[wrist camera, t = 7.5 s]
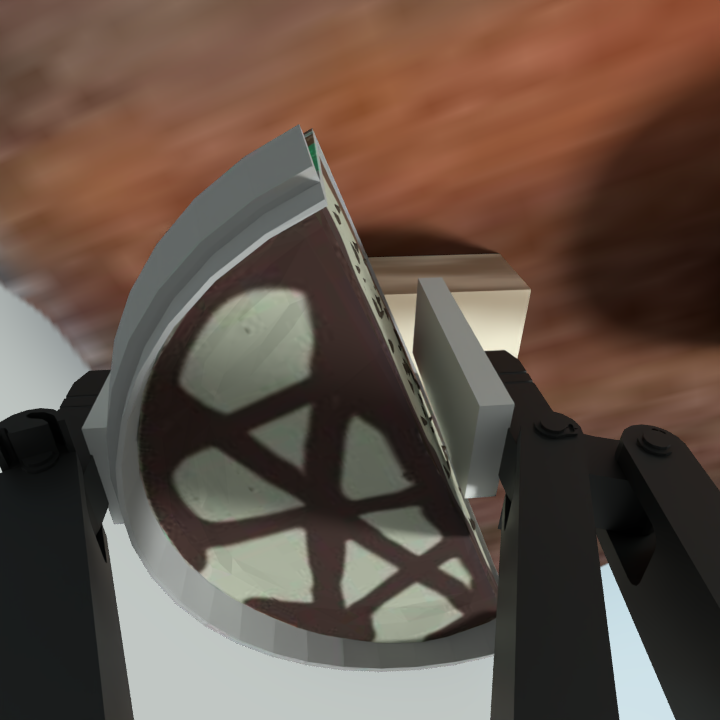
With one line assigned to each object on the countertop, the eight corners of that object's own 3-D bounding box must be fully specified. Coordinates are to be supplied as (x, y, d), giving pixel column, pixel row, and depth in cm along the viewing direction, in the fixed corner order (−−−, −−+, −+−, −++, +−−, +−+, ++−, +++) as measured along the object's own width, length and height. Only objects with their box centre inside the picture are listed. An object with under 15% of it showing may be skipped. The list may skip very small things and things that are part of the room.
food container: (88, 170, 15) (-147, 366, 7) (288, 72, 14) (306, 155, 6) (287, 459, 22) (294, 738, 13) (430, 401, 21) (531, 657, 13)
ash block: (271, 260, 37) (268, 299, 32) (499, 253, 38) (530, 289, 33) (285, 440, 45) (285, 493, 40) (471, 428, 47) (493, 478, 42)
